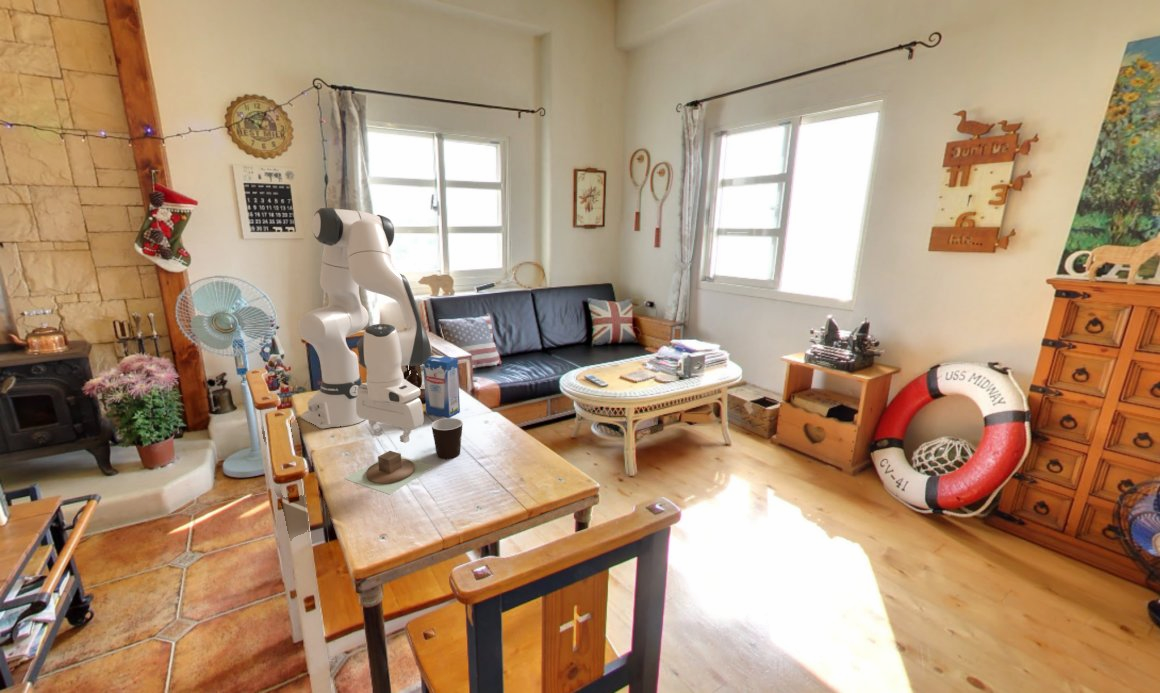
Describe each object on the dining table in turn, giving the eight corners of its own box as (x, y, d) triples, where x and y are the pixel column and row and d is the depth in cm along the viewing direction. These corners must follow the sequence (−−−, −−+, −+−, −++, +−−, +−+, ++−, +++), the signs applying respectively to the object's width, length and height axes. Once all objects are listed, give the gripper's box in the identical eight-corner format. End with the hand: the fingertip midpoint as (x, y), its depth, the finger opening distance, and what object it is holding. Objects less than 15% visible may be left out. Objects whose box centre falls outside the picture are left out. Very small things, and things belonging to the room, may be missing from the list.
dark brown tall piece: (438, 401, 182) (435, 350, 177) (397, 409, 174) (393, 355, 169) (427, 390, 194) (424, 342, 189) (388, 396, 186) (384, 346, 181)
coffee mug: (455, 464, 135) (454, 431, 133) (427, 460, 137) (425, 428, 135) (472, 446, 146) (471, 415, 144) (446, 443, 148) (445, 412, 146)
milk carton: (425, 413, 170) (422, 359, 166) (437, 407, 176) (434, 354, 171) (449, 418, 167) (446, 362, 162) (460, 412, 172) (457, 358, 167)
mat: (344, 480, 126) (344, 478, 126) (392, 455, 140) (391, 453, 140) (389, 496, 119) (389, 494, 119) (434, 468, 133) (434, 466, 133)
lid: (356, 477, 126) (354, 459, 125) (391, 457, 137) (390, 441, 136) (390, 488, 121) (388, 470, 120) (424, 467, 132) (422, 450, 131)
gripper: (347, 386, 125) (353, 435, 128) (407, 398, 117) (411, 450, 120) (366, 379, 131) (372, 427, 134) (425, 390, 122) (429, 440, 126)
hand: (391, 438), depth 127 cm, fingers open, 8 cm apart
